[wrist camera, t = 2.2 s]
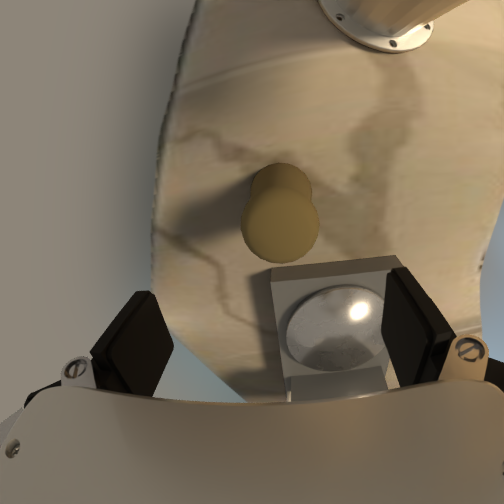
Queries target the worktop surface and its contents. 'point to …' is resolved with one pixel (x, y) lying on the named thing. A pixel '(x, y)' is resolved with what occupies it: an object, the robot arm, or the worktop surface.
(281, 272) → the scale
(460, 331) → the worktop surface
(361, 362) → the scale pan
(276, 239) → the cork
